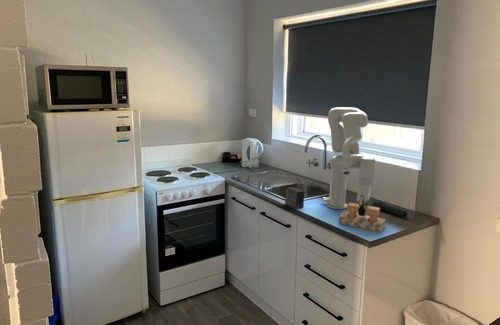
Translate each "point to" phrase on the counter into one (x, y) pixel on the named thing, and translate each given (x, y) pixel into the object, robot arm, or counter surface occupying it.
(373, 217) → the tan wedge board
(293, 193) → the small box
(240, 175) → the counter surface
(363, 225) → the slotted tan block
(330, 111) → the robot arm
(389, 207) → the flashlight
